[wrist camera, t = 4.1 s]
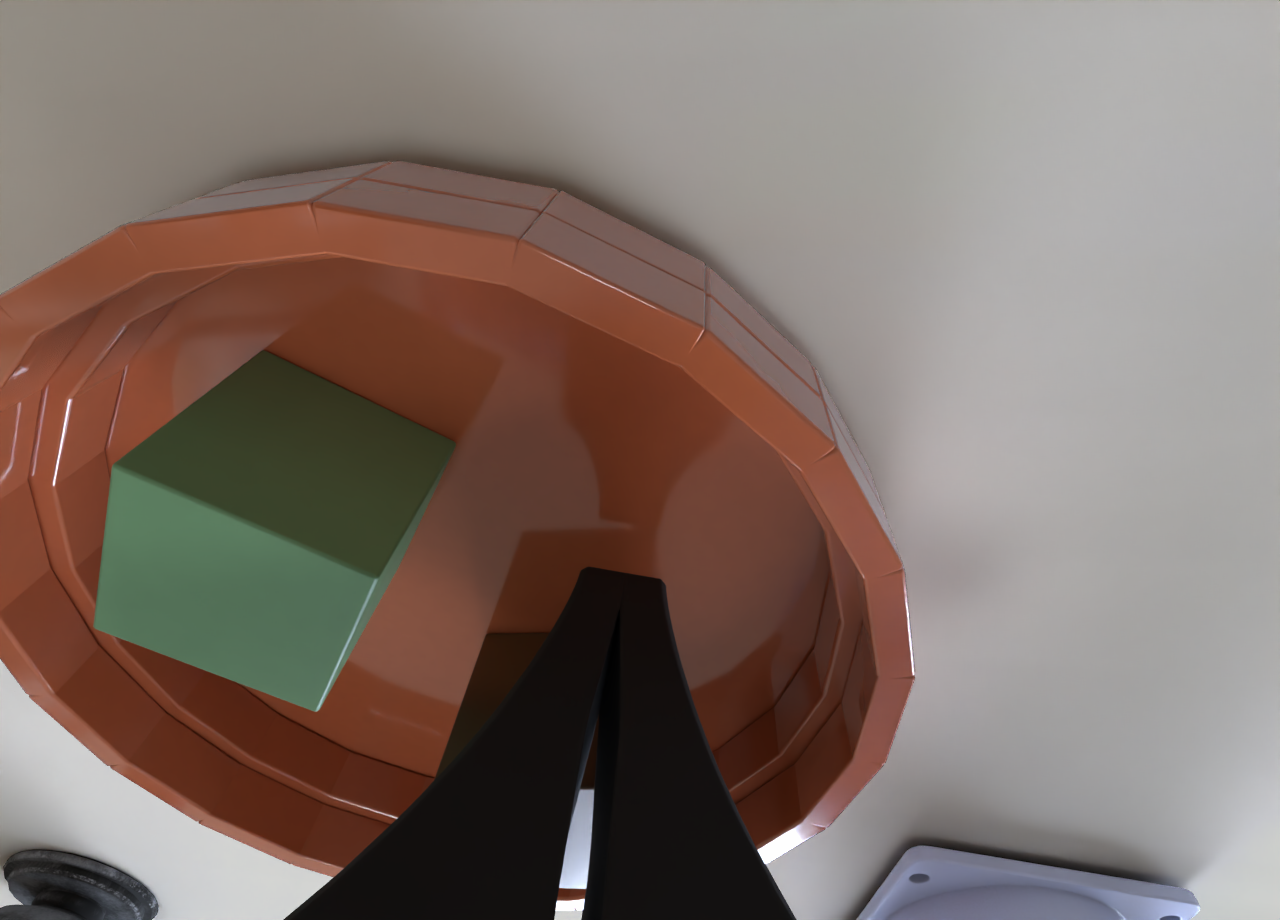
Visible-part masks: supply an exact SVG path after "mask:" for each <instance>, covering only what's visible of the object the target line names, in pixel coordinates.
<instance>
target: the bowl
mask: <svg viewBox="0 0 1280 920" xmlns="http://www.w3.org/2000/svg"><path fill="white" fill-rule="evenodd" d="M705 265H706V264H705V263H704V262H703V261H701V260H699V259H697V258H695V257H693V256H691V255H689V254H687V253H685V252H683V251H681V250H679V249H677V248H675V247H673V246H671V245H669V244H667V243H665V242H663V241H661V240H659V239H657V238H655V237H653V236H651V235H649V234H647V233H645V232H643V231H641V230H639V229H637V228H635V227H633V226H631V225H629V224H627V223H625V222H623V221H621V220H619V219H617V218H615V217H613V216H611V215H609V214H607V213H605V212H603V211H601V210H599V209H597V208H595V207H593V206H591V205H589V204H587V203H585V202H583V201H581V200H579V199H577V198H575V197H573V196H571V195H569V194H567V193H565V192H563V191H559V192H558V191H557V190H556V189H553V188H547V187H542V186H536V185H531V184H525V183H519V182H514V181H508V180H503V179H497V178H492V177H486V176H481V175H475V174H470V173H464V172H458V171H453V170H447V169H442V168H436V167H431V166H425V165H420V164H414V163H408V162H403V161H395V162H393V163H391V162H388V161H383V162H376V163H368V164H361V165H354V166H346V167H339V168H332V169H324V170H317V171H310V172H302V173H295V174H288V175H280V176H273V177H266V178H258V179H251V180H245V181H243V182H238V183H235V184H232V185H230V186H227V187H224V188H221V189H219V190H216V191H213V192H211V193H208V194H205V195H202V196H200V197H197V198H194V199H191V200H189V201H186V202H183V203H180V204H178V205H175V206H172V207H169V208H167V209H164V210H161V211H159V212H156V213H153V214H150V215H148V216H145V217H142V218H140V219H137V220H134V221H131V222H129V223H126V224H123V225H121V226H119V227H117V228H115V229H114V230H112V231H110V232H108V233H107V234H105V235H103V236H101V237H100V238H98V239H96V240H94V241H93V242H91V243H89V244H87V245H86V246H84V247H82V248H80V249H79V250H77V251H75V252H73V253H72V254H70V255H68V256H66V257H65V258H63V259H61V260H59V261H58V262H56V263H54V264H52V265H51V266H49V267H47V268H45V269H44V270H42V271H40V272H38V273H37V274H35V275H33V276H31V277H30V278H28V279H26V280H24V281H23V282H21V283H19V284H17V285H16V286H14V287H12V288H10V289H9V290H7V291H5V292H3V293H2V294H0V659H1V661H2V662H3V663H4V665H5V666H6V667H7V669H8V670H9V671H10V673H11V674H12V675H13V677H14V678H15V679H16V681H17V682H18V683H19V685H20V686H21V687H22V689H23V690H24V691H25V693H26V694H28V695H29V698H31V699H32V700H33V701H34V702H35V703H36V704H37V705H39V706H40V707H41V708H42V709H43V710H44V711H45V712H46V713H48V714H49V715H50V716H51V717H52V718H53V719H54V720H56V721H57V722H58V723H59V724H60V725H61V726H62V727H64V728H65V729H66V730H67V731H68V732H69V733H70V734H71V735H73V736H74V737H75V738H76V739H77V740H78V741H79V742H81V743H82V744H83V745H84V746H85V747H86V748H87V749H89V750H90V751H91V752H92V753H93V754H94V755H95V756H96V757H98V758H99V759H100V760H101V761H102V762H103V763H104V764H106V765H107V766H110V767H111V769H113V770H115V771H116V772H118V773H119V774H121V775H123V776H124V777H126V778H127V779H129V780H131V781H132V782H134V783H135V784H137V785H139V786H140V787H142V788H144V789H145V790H147V791H148V792H150V793H152V794H153V795H155V796H156V797H158V798H160V799H161V800H163V801H164V802H166V803H168V804H169V805H171V806H172V807H174V808H176V809H177V810H179V811H180V812H182V813H184V814H185V815H187V816H188V817H190V818H192V819H193V820H195V821H199V824H201V825H204V826H206V827H208V828H210V829H213V830H215V831H217V832H219V833H222V834H224V835H226V836H228V837H231V838H233V839H235V840H237V841H240V842H242V843H244V844H246V845H249V846H251V847H253V848H255V849H258V850H260V851H262V852H264V853H267V854H269V855H271V856H273V857H276V858H278V859H280V860H282V861H285V862H287V863H289V864H293V865H294V866H298V867H301V868H305V869H308V870H311V871H315V872H318V873H321V874H325V875H328V876H331V877H335V876H336V875H337V874H338V873H339V872H340V871H341V870H343V869H344V868H345V867H346V866H347V865H348V864H349V863H350V862H351V861H352V860H353V859H354V858H355V857H357V856H358V855H359V854H360V853H361V852H362V851H363V850H364V849H365V848H366V847H367V846H368V845H369V844H370V843H372V842H373V841H374V840H375V839H376V838H377V837H378V836H379V835H380V834H381V833H382V832H383V831H384V830H385V829H386V828H388V827H389V826H390V825H391V824H392V823H393V822H394V821H395V820H396V819H397V818H398V817H399V816H400V815H401V814H402V813H403V812H404V811H405V810H406V809H407V808H408V807H409V806H410V805H411V804H412V803H413V802H414V801H415V800H416V799H417V798H418V797H419V796H420V795H421V794H422V793H423V792H424V791H425V790H426V789H427V788H428V787H429V785H430V784H431V783H432V782H433V781H434V779H435V776H436V773H437V770H438V767H439V765H440V762H441V759H442V756H443V753H444V750H445V748H446V745H447V742H448V739H449V736H450V734H451V731H452V728H453V725H454V722H455V719H456V717H457V714H458V711H459V708H460V705H461V703H462V700H463V697H464V694H465V691H466V688H467V686H468V683H469V680H470V677H471V674H472V672H473V669H474V666H475V663H476V660H477V657H478V655H479V652H480V649H481V646H482V643H483V641H484V638H485V635H486V634H497V633H550V632H551V630H552V628H553V627H554V625H555V623H556V621H557V620H558V618H559V616H560V614H561V613H562V611H563V609H564V607H565V605H566V604H567V602H568V600H569V598H570V596H571V594H572V591H573V589H574V587H575V585H576V582H577V580H578V577H579V574H580V571H581V570H582V569H584V568H586V567H588V566H589V567H595V568H601V569H607V570H612V571H618V572H624V573H630V574H636V575H641V576H647V577H653V578H659V579H661V580H662V581H663V582H664V583H665V585H666V592H667V600H668V607H669V613H670V618H671V623H672V628H673V632H674V636H675V640H676V645H677V649H678V652H679V656H680V660H681V663H682V667H683V670H684V673H685V676H686V680H687V683H688V686H689V689H690V693H691V696H692V699H693V702H694V705H695V708H696V710H697V713H698V716H699V719H700V722H701V724H702V727H703V730H704V732H705V735H706V738H707V740H708V743H709V746H710V748H711V751H712V753H713V755H714V758H715V760H716V763H717V765H718V768H719V770H720V772H721V775H722V777H723V779H724V781H725V784H726V786H727V788H728V790H729V792H730V795H731V797H732V799H733V801H734V803H735V806H736V808H737V810H738V812H739V814H740V816H741V818H742V820H743V822H744V824H745V826H746V828H747V830H748V832H749V834H750V836H751V838H752V840H753V842H754V844H755V846H756V848H757V850H758V852H759V854H760V855H761V857H762V859H763V861H764V863H765V864H768V863H770V862H771V861H773V860H775V859H776V858H778V857H780V856H781V855H783V854H785V853H786V852H788V851H790V850H791V849H793V848H795V847H796V846H798V845H800V844H801V843H803V842H805V841H807V840H808V839H810V838H812V837H813V836H815V835H817V834H818V833H820V832H822V831H823V830H825V828H827V827H829V826H830V825H831V824H832V823H833V822H834V820H835V819H836V818H837V817H838V816H839V815H840V814H841V813H842V811H843V810H844V809H845V808H846V807H847V806H848V805H849V804H850V803H851V801H852V800H853V799H854V798H855V797H856V796H857V795H858V794H859V792H860V791H861V790H862V789H863V788H864V787H865V786H866V785H867V783H868V782H869V781H870V780H871V779H872V778H873V777H874V776H875V775H876V773H877V772H878V771H879V770H880V769H881V768H882V767H883V765H884V763H886V760H887V757H888V754H889V752H890V749H891V746H892V743H893V740H894V737H895V734H896V732H897V729H898V726H899V723H900V720H901V717H902V714H903V712H904V709H905V706H906V703H907V700H908V697H909V695H910V692H911V689H912V686H913V683H914V680H915V676H914V674H915V665H914V655H913V645H912V635H911V625H910V615H909V605H908V595H907V585H906V575H905V569H904V566H903V563H902V560H901V557H900V554H899V551H898V548H897V546H896V543H895V540H894V537H893V534H892V531H891V529H890V526H889V523H888V520H887V517H886V515H885V513H884V509H883V506H882V503H881V500H880V497H879V495H878V492H877V489H876V486H875V483H874V480H873V478H872V475H871V472H870V469H869V468H868V466H867V464H866V462H865V460H864V458H863V456H862V454H861V453H860V451H859V449H858V447H857V445H856V443H855V441H854V439H853V438H852V436H851V434H850V432H849V430H848V428H847V426H846V424H845V423H844V421H843V419H842V417H841V415H840V413H839V411H838V409H837V408H836V406H835V404H834V402H833V400H832V398H831V396H830V394H829V393H828V391H827V389H826V387H825V385H824V383H823V381H822V379H821V378H820V376H819V374H818V372H817V370H816V368H814V367H813V366H812V365H811V363H810V361H809V360H808V359H807V358H805V357H804V356H803V355H802V354H801V353H800V352H799V351H798V350H797V349H796V348H795V347H794V346H793V345H792V344H791V343H790V342H789V341H787V340H786V339H785V338H784V337H783V336H782V335H781V334H780V333H779V332H778V331H777V330H776V329H775V328H774V327H773V326H772V325H771V324H769V323H768V322H767V321H766V320H765V319H764V318H763V317H762V316H761V315H760V314H759V313H758V312H757V311H756V310H755V309H754V308H753V307H751V306H750V305H749V304H748V303H747V302H746V301H745V300H744V299H743V298H742V297H741V296H740V295H739V294H738V293H737V292H736V291H735V290H733V289H732V288H731V287H730V286H729V285H728V284H727V283H726V282H725V281H724V280H723V279H722V278H721V277H720V276H719V275H718V274H717V273H715V272H714V271H713V270H712V269H711V268H709V267H705ZM262 350H264V351H267V352H269V353H271V354H273V355H275V356H277V357H280V358H282V359H284V360H286V361H288V362H290V363H292V364H294V365H296V366H298V367H300V368H302V369H304V370H307V371H309V372H311V373H313V374H315V375H317V376H319V377H321V378H323V379H325V380H327V381H329V382H331V383H334V384H336V385H338V386H340V387H342V388H344V389H346V390H348V391H350V392H352V393H354V394H356V395H359V396H361V397H363V398H365V399H367V400H369V401H371V402H373V403H375V404H377V405H379V406H381V407H383V408H386V409H388V410H390V411H392V412H394V413H396V414H398V415H400V416H402V417H404V418H406V419H408V420H410V421H413V422H415V423H417V424H419V425H421V426H423V427H425V428H427V429H429V430H431V431H433V432H435V433H438V434H440V435H442V436H444V437H446V438H448V439H450V440H452V441H454V442H455V443H456V447H455V449H454V451H453V453H452V455H451V457H450V460H449V462H448V464H447V466H446V468H445V470H444V472H443V474H442V476H441V479H440V481H439V483H438V485H437V487H436V489H435V491H434V493H433V496H432V498H431V500H430V502H429V504H428V506H427V508H426V510H425V512H424V515H423V517H422V519H421V521H420V523H419V525H418V527H417V529H416V531H415V534H414V536H413V538H412V540H411V542H410V544H409V546H408V548H407V551H406V553H405V555H404V557H403V559H402V561H401V563H400V565H399V567H398V569H397V571H396V573H395V575H394V576H393V578H392V580H391V582H390V584H389V585H388V587H387V589H386V591H385V593H384V594H383V596H382V598H381V600H380V602H379V603H378V605H377V607H376V609H375V611H374V612H373V614H372V616H371V618H370V620H369V621H368V623H367V625H366V627H365V629H364V631H363V632H362V634H361V636H360V638H359V640H358V641H357V643H356V645H355V647H354V649H353V650H352V652H351V654H350V656H349V658H348V659H347V661H346V663H345V665H344V667H343V668H342V670H341V672H340V674H339V676H338V677H337V679H336V681H335V683H334V685H333V686H332V688H331V690H330V692H329V694H328V695H327V697H326V699H325V701H324V703H323V705H322V706H321V708H320V710H318V711H317V712H314V711H312V710H309V709H306V708H304V707H301V706H298V705H296V704H293V703H290V702H288V701H285V700H282V699H280V698H277V697H274V696H272V695H269V694H266V693H264V692H261V691H259V690H256V689H253V688H251V687H248V686H245V685H243V684H240V683H237V682H235V681H232V680H229V679H227V678H224V677H221V676H219V675H216V674H213V673H211V672H208V671H206V670H203V669H200V668H198V667H195V666H192V665H190V664H187V663H184V662H182V661H179V660H176V659H174V658H171V657H168V656H166V655H163V654H160V653H158V652H155V651H152V650H150V649H147V648H145V647H142V646H139V645H137V644H134V643H131V642H129V641H126V640H123V639H121V638H118V637H115V636H113V635H110V634H107V633H105V632H102V631H99V630H97V629H95V628H94V627H93V624H94V616H95V607H96V599H97V590H98V581H99V573H100V564H101V556H102V547H103V538H104V530H105V521H106V513H107V504H108V496H109V487H110V478H111V470H112V466H113V464H114V463H115V462H117V461H118V460H119V459H120V458H122V457H123V456H124V455H126V454H127V453H128V452H130V451H131V450H132V449H134V448H135V447H136V446H137V445H139V444H140V443H141V442H143V441H144V440H145V439H147V438H148V437H149V436H151V435H152V434H153V433H154V432H156V431H157V430H158V429H160V428H161V427H162V426H164V425H165V424H166V423H168V422H169V421H170V420H171V419H173V418H174V417H175V416H177V415H178V414H179V413H181V412H182V411H183V410H185V409H186V408H187V407H189V406H190V405H191V404H192V403H194V402H195V401H196V400H198V399H199V398H200V397H202V396H203V395H204V394H206V393H207V392H208V391H209V390H211V389H212V388H213V387H215V386H216V385H217V384H219V383H220V382H221V381H223V380H224V379H225V378H226V377H228V376H229V375H230V374H232V373H233V372H234V371H236V370H237V369H238V368H240V367H241V366H242V365H243V364H245V363H246V362H247V361H249V360H250V359H251V358H253V357H254V356H255V355H257V354H258V353H259V352H260V351H262ZM585 893H586V889H575V888H559V892H558V898H557V904H556V910H568V911H574V910H576V909H577V910H583V906H584V899H585Z"/></svg>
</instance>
